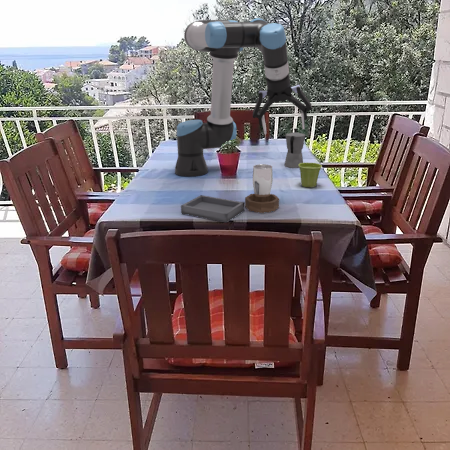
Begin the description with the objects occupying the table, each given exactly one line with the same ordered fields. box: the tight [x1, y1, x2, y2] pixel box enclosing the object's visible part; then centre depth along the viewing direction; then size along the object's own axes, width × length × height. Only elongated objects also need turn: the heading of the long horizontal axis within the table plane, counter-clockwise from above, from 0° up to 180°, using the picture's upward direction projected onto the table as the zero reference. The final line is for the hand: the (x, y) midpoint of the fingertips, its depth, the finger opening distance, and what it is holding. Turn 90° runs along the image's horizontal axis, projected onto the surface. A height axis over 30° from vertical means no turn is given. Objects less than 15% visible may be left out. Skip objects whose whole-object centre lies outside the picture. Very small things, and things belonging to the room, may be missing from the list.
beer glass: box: [252, 163, 273, 203], centre depth 152 cm, size 7×7×15 cm
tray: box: [180, 194, 245, 223], centre depth 151 cm, size 18×13×3 cm
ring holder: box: [244, 193, 280, 214], centre depth 155 cm, size 11×11×4 cm
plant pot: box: [298, 162, 323, 188], centre depth 177 cm, size 9×9×9 cm
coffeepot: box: [284, 128, 306, 169], centre depth 205 cm, size 15×9×18 cm, turn 161°
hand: (284, 129), depth 154 cm, fingers open, 13 cm apart
